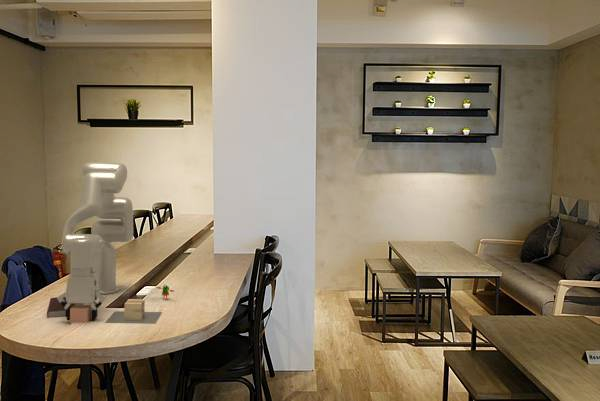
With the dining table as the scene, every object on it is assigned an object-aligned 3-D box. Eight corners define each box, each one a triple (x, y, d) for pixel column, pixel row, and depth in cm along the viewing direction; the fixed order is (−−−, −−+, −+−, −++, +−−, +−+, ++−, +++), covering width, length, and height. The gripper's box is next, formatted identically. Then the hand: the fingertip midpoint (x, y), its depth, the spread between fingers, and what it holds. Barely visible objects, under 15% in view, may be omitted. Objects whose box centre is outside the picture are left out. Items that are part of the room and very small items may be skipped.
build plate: (114, 313, 208) (114, 311, 207) (162, 314, 209) (162, 312, 209) (104, 325, 194) (104, 322, 194) (155, 326, 195) (155, 323, 195)
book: (46, 318, 200) (46, 310, 199) (50, 304, 218) (50, 296, 217) (83, 316, 204) (83, 308, 204) (83, 302, 222) (83, 294, 222)
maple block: (128, 314, 204) (128, 299, 203) (144, 314, 204) (144, 299, 204) (124, 319, 198) (124, 303, 197) (141, 319, 198) (141, 303, 198)
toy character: (167, 305, 223) (168, 289, 222) (147, 300, 229) (147, 285, 228) (186, 300, 232) (186, 284, 231) (165, 295, 238) (166, 280, 238)
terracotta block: (75, 320, 199) (75, 304, 198) (92, 320, 199) (92, 304, 199) (70, 325, 193) (70, 308, 192) (87, 325, 193) (87, 309, 193)
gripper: (109, 270, 199) (108, 316, 200) (60, 269, 197) (60, 315, 199) (103, 275, 191) (103, 323, 193) (52, 273, 190) (52, 322, 191)
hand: (81, 319), depth 196 cm, fingers open, 8 cm apart
